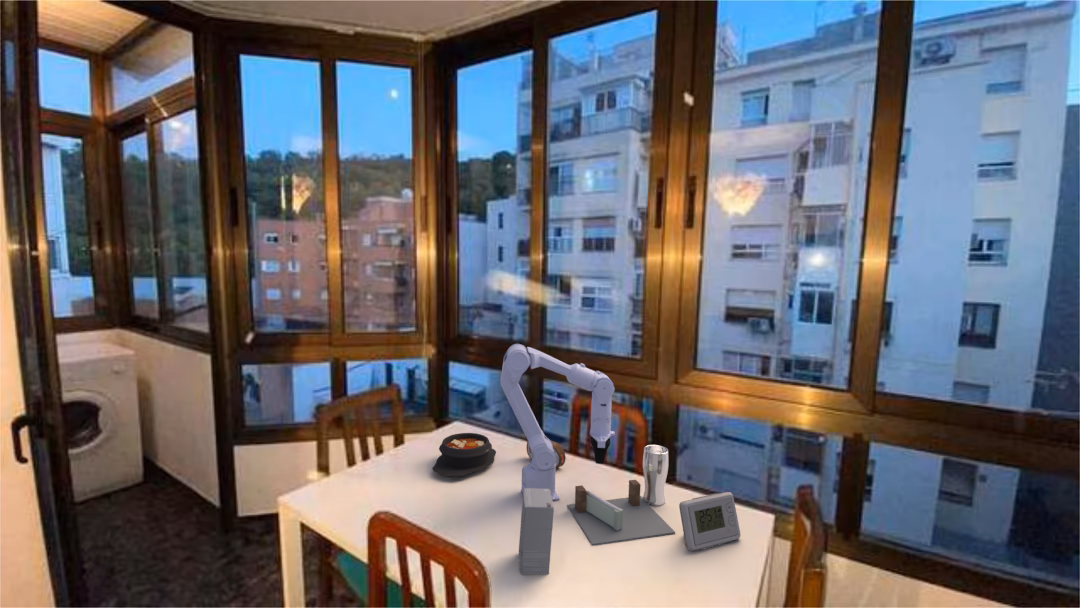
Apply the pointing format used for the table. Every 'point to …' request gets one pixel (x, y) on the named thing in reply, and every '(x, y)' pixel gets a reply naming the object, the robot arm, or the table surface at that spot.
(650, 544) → the table surface
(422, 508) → the table surface
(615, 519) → the gate
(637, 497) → the gate posts
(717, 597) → the table surface
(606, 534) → the yard mat
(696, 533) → the digital clock
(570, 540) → the table surface
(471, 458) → the casserole
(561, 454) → the tin
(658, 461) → the silver metal tumbler
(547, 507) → the skincare box
